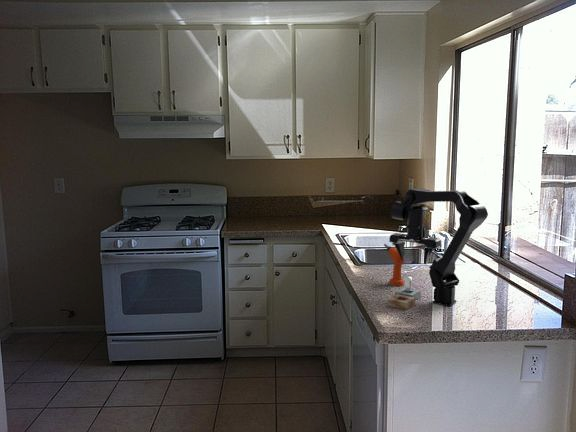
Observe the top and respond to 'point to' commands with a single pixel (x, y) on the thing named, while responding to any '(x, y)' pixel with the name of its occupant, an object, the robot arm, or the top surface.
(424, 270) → the top surface
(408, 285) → the silver metal rod
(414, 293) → the gray square ring
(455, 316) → the top surface
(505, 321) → the top surface
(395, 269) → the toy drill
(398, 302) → the socket block
